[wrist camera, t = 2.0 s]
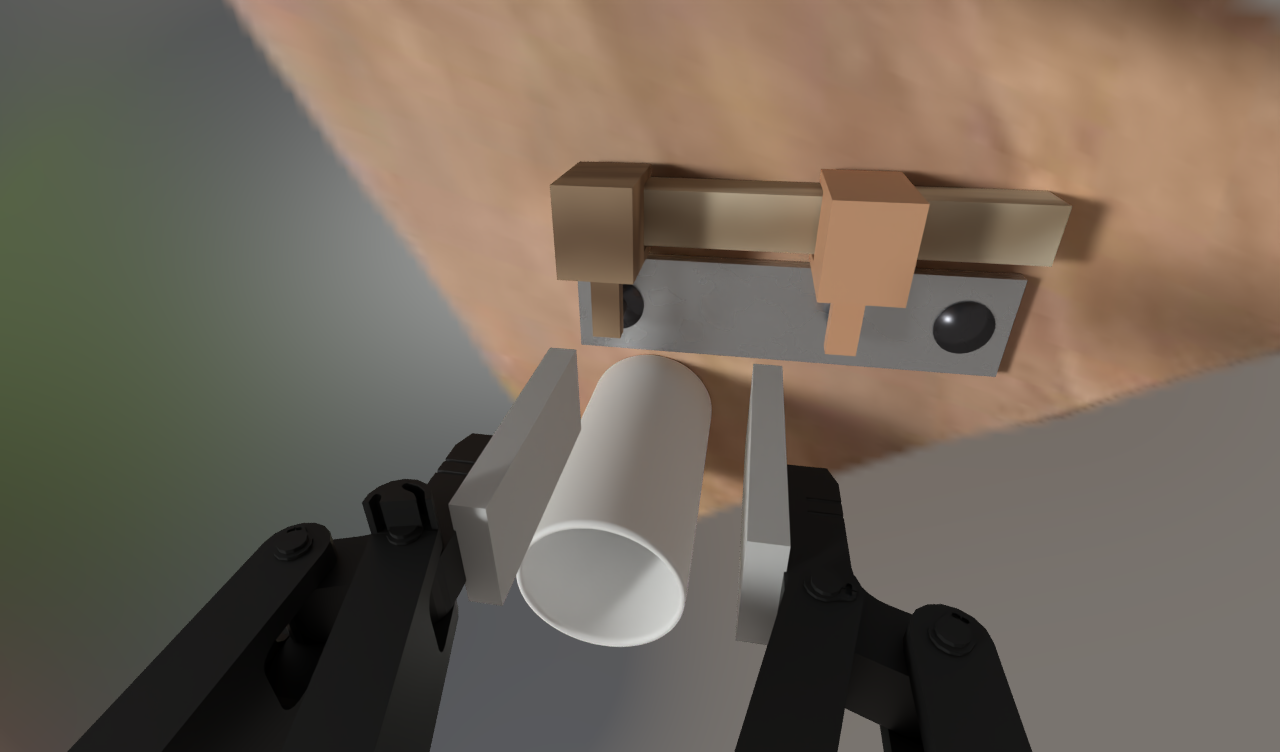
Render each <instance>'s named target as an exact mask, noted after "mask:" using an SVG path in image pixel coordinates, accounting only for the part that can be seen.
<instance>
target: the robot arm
mask: <svg viewBox="0 0 1280 752" xmlns="http://www.w3.org/2000/svg"><path fill="white" fill-rule="evenodd" d="M580 431H581V417H580V401H579V386H578V370H577V354H576V350H574V349H561V348H550V349H549V350H548V352H547V353H546V355H545V356H544V358H543V359H542V361H541V363H540V364H539V366H538V367H537V369H536V370H535V372H534V373H533V375H532V376H531V378H530V379H529V381H528V383H527V384H526V386H525V387H524V389H523V390H522V392H521V393H520V395H519V396H518V398H517V399H516V401H515V403H514V404H513V406H512V407H511V409H510V410H509V412H508V413H507V415H506V416H505V418H504V420H503V421H502V423H501V424H500V426H499V427H498V429H497V430H496V432H495V433H494V435H483V434H474V433H473V434H471V435H469V436H468V437H466V438H465V439H464V440H462V441H461V442H459V443H458V444H456V445H455V447H454V448H453V449H452V451H451V452H450V454H449V455H448V456H447V458H446V461H445V462H443V463H442V465H441V466H440V467H439V469H438V472H437V473H435V474H434V476H433V477H432V478H431V480H430V481H429V483H428V484H425V483H423V482H421V481H419V480H411V479H402V480H397V481H391V482H389V483H386V484H384V485H381V486H379V487H378V488H376V489H375V490H373V491H372V492H371V493H369V494H368V495H367V497H366V498H365V500H364V501H363V502H362V504H363V507H364V511H365V514H366V517H367V521H368V524H369V527H370V531H371V534H370V535H365V536H359V537H352V538H343V539H334V540H333V539H332V537H331V533H330V531H329V530H328V529H327V528H326V527H325V526H323V525H320V524H317V523H301V524H297V525H294V526H290V527H287V528H285V529H283V530H281V531H279V532H277V533H275V534H274V535H273V536H272V537H270V538H269V539H268V540H267V541H265V542H264V543H263V544H262V545H261V546H260V547H259V548H258V550H257V551H256V552H255V553H254V554H253V555H252V556H251V557H250V558H249V559H248V560H247V561H246V562H245V563H244V564H243V566H242V567H241V568H240V569H239V570H238V571H237V572H236V573H235V574H234V575H233V576H232V577H231V579H229V581H228V582H227V583H226V584H225V585H224V586H223V587H222V588H221V589H220V590H219V591H218V592H217V593H216V594H215V595H214V596H213V597H212V599H211V600H210V601H209V602H208V603H207V604H206V605H205V606H204V607H203V608H202V609H201V610H200V611H199V612H198V613H197V614H196V616H195V617H194V618H193V619H192V620H191V621H190V622H189V623H188V624H187V625H186V626H185V627H184V628H183V629H182V630H181V632H180V633H179V634H178V635H177V636H176V637H175V638H174V639H173V640H172V641H171V642H170V643H169V644H168V645H167V646H166V648H165V649H164V650H163V651H162V652H161V653H160V654H159V655H158V656H157V657H156V658H155V659H154V660H153V661H152V662H151V663H150V665H149V666H148V667H147V668H146V669H145V670H144V671H143V672H142V673H141V674H140V675H139V676H138V677H137V678H136V679H135V680H134V681H133V683H132V684H131V685H130V686H129V687H128V688H127V689H126V690H125V691H124V692H123V693H122V694H121V695H120V697H118V699H117V700H116V701H115V702H114V703H113V704H112V705H111V706H110V707H109V708H108V709H107V710H106V711H105V712H104V714H103V715H102V716H101V717H100V718H99V719H98V720H97V721H96V722H95V723H94V724H93V725H92V726H91V727H90V728H89V729H88V730H87V732H86V733H85V734H84V735H83V736H82V737H81V738H80V739H79V740H78V741H77V742H76V743H75V744H74V745H73V746H72V747H71V749H70V750H69V751H68V752H430V747H431V743H432V738H433V733H434V728H435V724H436V719H437V715H438V710H439V705H440V701H441V695H442V691H443V686H444V682H445V677H446V672H447V668H448V663H449V658H450V654H451V649H452V644H453V640H454V635H455V630H456V625H457V621H458V605H457V601H456V599H457V597H458V595H459V594H460V592H461V590H462V588H463V586H464V584H465V585H466V590H467V594H468V599H469V601H473V602H479V603H486V604H493V605H500V606H502V605H503V604H504V601H505V599H506V597H507V595H508V592H509V590H510V588H511V585H512V583H513V581H514V579H515V576H516V574H517V572H518V570H519V568H520V566H521V563H522V561H523V559H524V557H525V554H526V552H527V550H528V548H529V545H530V543H531V541H532V539H533V536H534V534H535V532H536V530H537V527H538V525H539V523H540V521H541V519H542V516H543V514H544V512H545V510H546V507H547V505H548V503H549V501H550V498H551V496H552V494H553V492H554V489H555V487H556V485H557V483H558V480H559V478H560V476H561V474H562V472H563V469H564V467H565V465H566V463H567V460H568V458H569V456H570V454H571V451H572V449H573V447H574V445H575V442H576V440H577V438H578V436H579V433H580ZM740 544H741V545H740V564H739V584H738V605H737V625H736V626H737V627H736V640H737V641H744V642H750V643H757V644H764V645H767V649H766V652H765V655H764V658H763V662H762V665H761V668H760V671H759V674H758V677H757V681H756V684H755V687H754V690H753V694H752V697H751V700H750V703H749V707H748V710H747V713H746V716H745V720H744V723H743V726H742V729H741V732H740V736H739V739H738V742H737V746H736V749H735V752H837V751H838V745H839V739H840V734H841V728H842V722H843V716H844V710H845V708H846V709H848V710H850V711H852V712H854V713H857V714H858V715H860V716H863V717H865V718H867V719H869V720H871V721H873V722H875V723H877V724H879V725H880V729H881V735H882V743H883V749H884V752H1032V750H1031V747H1030V744H1029V742H1028V738H1027V736H1026V733H1025V730H1024V727H1023V724H1022V722H1021V719H1020V716H1019V713H1018V710H1017V707H1016V704H1015V702H1014V699H1013V696H1012V693H1011V690H1010V687H1009V685H1008V682H1007V679H1006V676H1005V673H1004V670H1003V667H1002V665H1001V662H1000V659H999V656H998V653H997V650H996V647H995V645H994V642H993V641H992V639H991V637H990V635H989V634H988V632H987V630H986V629H985V628H984V627H983V626H982V625H981V624H980V623H979V622H978V621H977V620H976V619H975V618H973V617H972V616H970V615H968V614H966V613H964V612H963V611H961V610H959V609H957V608H953V607H949V606H946V605H942V604H937V605H935V604H933V605H932V604H930V605H925V606H923V607H920V608H918V609H916V610H915V612H914V613H913V614H910V613H907V612H904V611H902V610H899V609H897V608H894V607H892V606H889V605H887V604H885V603H883V602H881V601H879V600H877V599H876V598H874V597H873V596H871V595H870V594H869V593H867V592H866V591H865V590H864V589H863V588H862V587H861V585H860V583H859V582H858V580H857V579H856V577H855V576H854V575H853V571H852V568H851V562H850V556H849V549H848V543H847V536H846V530H845V523H844V519H843V511H842V505H841V498H840V491H839V484H838V483H837V482H836V480H835V479H834V478H833V476H832V475H831V474H830V472H829V471H828V470H827V469H825V468H815V467H806V466H796V465H787V458H786V436H785V414H784V393H783V371H782V366H775V365H762V364H753V374H752V384H751V394H750V403H749V413H748V423H747V433H746V443H745V461H744V481H743V502H742V524H741V543H740Z"/></svg>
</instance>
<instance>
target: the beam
mask: <svg viewBox="0 0 1280 752" xmlns="http://www.w3.org/2000/svg"><path fill="white" fill-rule="evenodd" d="M915 188H916V189H917V190H918V191H919V192H920V193H921V195H922V196H923V197H924V198H925V199H926V200H927V201H928V203H929V204H930V205H929V210H928V214H927V218H926V223H925V227H924V231H923V236H922V240H921V244H920V249H919V253H918V257H917V260H934V261H953V262H972V263H991V264H1010V265H1030V266H1049V267H1052V264H1053V261H1054V258H1055V255H1056V252H1057V249H1058V247H1059V244H1060V241H1061V238H1062V235H1063V232H1064V229H1065V226H1066V224H1067V221H1068V218H1069V215H1070V212H1071V209H1072V205H1070V204H1068V203H1067V202H1065V201H1064V200H1062V199H1060V198H1059V197H1057V196H1055V195H1054V194H1052V193H1051V192H1049V191H1040V190H1011V189H982V188H954V187H925V186H915ZM822 197H823V190H822V187H821V183H811V182H782V181H753V180H725V179H696V178H667V177H649V179H648V180H647V182H646V183H645V184H644V245H646V246H665V247H684V248H704V249H723V250H742V251H761V252H780V253H800V254H814V253H815V246H816V239H817V232H818V225H819V218H820V211H821V204H822Z"/></svg>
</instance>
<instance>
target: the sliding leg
mask: <svg viewBox="0 0 1280 752" xmlns="http://www.w3.org/2000/svg"><path fill="white" fill-rule="evenodd" d="M820 183H821V187H822V190H823V197H822V204H821V211H820V218H819V225H818V232H817V239H816V246H815V253H814V254H809V260H810V266H811V271H812V277H813V283H814V288H815V294H816V300H817V302H818V303H831V304H830V310H829V316H828V318H827V320H826V326H827V328H826V335H825V341H824V350H825V354H831V355H844V356H856V352H857V347H858V342H859V336H860V331H861V326H862V321H863V316H864V311H865V306H881V307H897V308H906V305H907V301H908V296H909V292H910V288H911V283H912V279H913V275H914V270H915V266H916V262H917V257H918V253H919V249H920V244H921V240H922V236H923V231H924V227H925V223H926V218H927V214H928V210H929V205H930V204H929V203H928V201H927V200H926V199H925V198H924V197H923V196H922V195H921V193H920V192H919V191H918V190H917V189H916V188H915V186H914V185H913V184H912V183H911V182H910V181H909V180H908V178H907V177H906V176H905V175H904V174H903V173H902V172H897V171H865V170H833V169H821V175H820Z"/></svg>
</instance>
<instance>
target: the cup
mask: <svg viewBox="0 0 1280 752" xmlns="http://www.w3.org/2000/svg"><path fill="white" fill-rule="evenodd" d="M711 415H712V406H711V400H710V396H709V394H708V391H707V389H706V387H705V386H704V384H703V382H702V381H701V380H700V379H699V377H698V376H697V375H696V374H695V373H694V372H693V371H691V370H690V369H689V368H687V367H686V366H684V365H683V364H681V363H679V362H677V361H675V360H672V359H669V358H666V357H662V356H657V355H637V356H632V357H629V358H625V359H623V360H621V361H619V362H617V363H615V364H614V365H612V366H611V367H610V368H609V369H608V370H607V371H606V372H605V373H604V374H603V375H602V377H601V378H600V380H599V382H598V384H597V386H596V388H595V390H594V392H593V395H592V397H591V399H590V401H589V403H588V405H587V408H586V410H585V412H584V414H583V416H582V419H581V431H580V433H579V436H578V438H577V440H576V442H575V445H574V447H573V449H572V451H571V454H570V456H569V458H568V460H567V463H566V465H565V467H564V469H563V472H562V474H561V476H560V478H559V480H558V483H557V485H556V487H555V489H554V492H553V494H552V496H551V498H550V501H549V503H548V505H547V507H546V510H545V512H544V514H543V516H542V519H541V521H540V523H539V525H538V527H537V530H536V532H535V534H534V536H533V539H532V541H531V543H530V545H529V548H528V550H527V552H526V554H525V557H524V559H523V561H522V563H521V566H520V568H519V570H518V572H517V574H516V577H517V582H518V586H519V589H520V591H521V593H522V595H523V597H524V599H525V600H526V602H527V603H528V605H529V606H530V607H531V608H532V610H534V612H535V613H536V614H537V615H538V616H539V617H541V618H542V619H543V620H544V621H545V622H547V623H548V624H550V625H551V626H552V627H554V628H556V629H557V630H559V631H561V632H563V633H565V634H567V635H569V636H571V637H574V638H576V639H579V640H582V641H585V642H589V643H592V644H597V645H604V646H613V647H627V646H636V645H641V644H645V643H649V642H652V641H654V640H657V639H659V638H660V637H662V636H664V635H665V634H667V633H668V632H669V631H670V630H672V629H673V627H674V626H675V625H676V624H677V623H678V621H679V620H680V618H681V616H682V613H683V610H684V606H685V603H686V596H687V589H688V581H689V575H690V568H691V561H692V554H693V546H694V539H695V532H696V524H697V517H698V510H699V503H700V495H701V488H702V481H703V473H704V466H705V459H706V452H707V444H708V437H709V430H710V422H711Z"/></svg>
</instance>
